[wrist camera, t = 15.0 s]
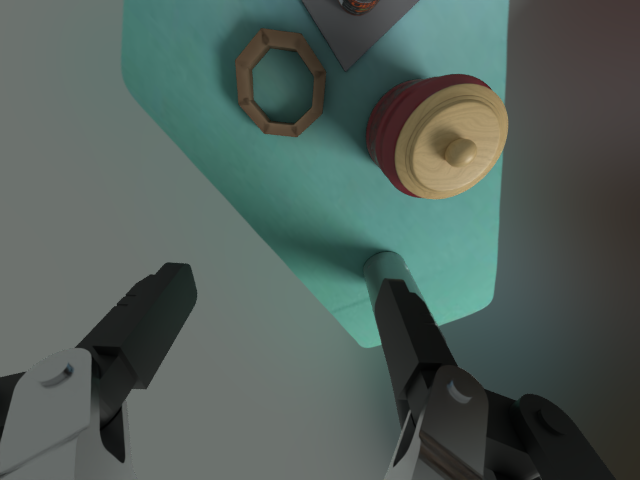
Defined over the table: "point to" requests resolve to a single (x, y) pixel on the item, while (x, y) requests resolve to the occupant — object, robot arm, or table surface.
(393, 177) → the canister
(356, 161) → the table surface
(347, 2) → the supplement bottle
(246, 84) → the collar
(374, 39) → the coaster
